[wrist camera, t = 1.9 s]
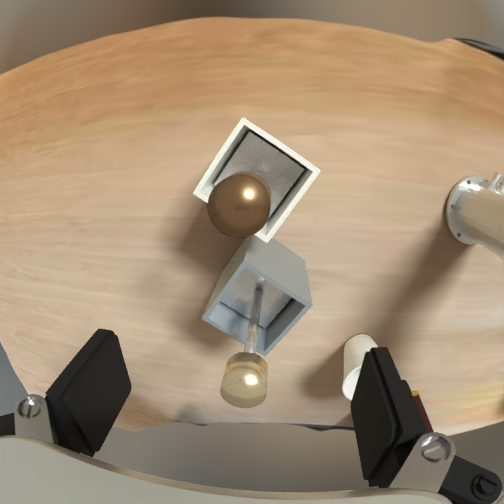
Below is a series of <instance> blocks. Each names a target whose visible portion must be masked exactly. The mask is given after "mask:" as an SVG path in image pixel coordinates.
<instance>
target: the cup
mask: <svg viewBox="0 0 504 504" xmlns="http://www.w3.org/2000/svg"><path fill="white" fill-rule="evenodd" d="M372 347H378V346H377V344H376V343H375V342H374V340H373V339H372V338H371V337H370V336H368V335H363V334H361V335H356V336H354V337H352V338H350V339H349V340H348V341H347V342H346V344H345V346H344V378H343V384H342V391H343V394H344V395H345V397H346V398H348V399H349V400H352V397H353V394H354V391H355V387H356V384H357V381H358V377H359V374H360V370H361V367H362V363H363V359H364V355H365V353H366V352H367V351H370V349H371V348H372Z"/></svg>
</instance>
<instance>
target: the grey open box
mask: <svg viewBox="0 0 504 504" xmlns="http://www.w3.org/2000/svg"><path fill="white" fill-rule="evenodd" d="M245 267H246V268H248V269H250V270H251V271H253V272H254V273H256V274H257V275H259V276H260V277H262V278H263V279H265V280H266V281H268V282H269V283H271V284H272V285H274V286H276V287H277V288H279V289H280V290H282V291H283V292H285V293H286V294H288V295H289V296H291V297H292V298H291V299H290V301H289V302H288V303H287V304H286V305H285V306H284V308H283V309H282V310H281V311H280V312H279V313H278V315H277V316H276V317H275V318H274V319H273V320H272V321H271V323H270V324H269V325H268V326H267V327H266V328H263V327H262V326H260V325H259V328H258V336H257V344H256V352H258V353H260V354H262V355H263V356H266V355H267V354H268V353H269V352H270V351H271V350H272V349H273V348H274V347H275V346H276V345H277V343H278V342H279V341H280V340H281V339H282V338H283V337H284V336H285V335H286V334H287V333H288V332H289V331H290V329H291V328H292V327H293V326H294V325H295V324H296V323H297V322H298V321H299V320H300V318H301V317H302V316H303V315H304V314H305V313H306V312H307V311H308V309H309V308H310V307H311V306H312V299H311V294H310V288H309V283H308V277H307V272H306V266H305V261H304V260H303V259H302V258H300V257H299V256H297V255H296V254H295V253H293V252H292V251H290V250H289V249H287V248H286V247H284V246H283V245H281V244H280V243H279V242H277V241H276V240H274V239H273V238H271V239H270V240H269V242H268V243H266V242H264V241H263V240H261V239H260V238H259V237H257V236H256V235H252V236H249V237H246V239H245V240H244V241H243V243H242V244H241V246H240V247H239V248H238V250H237V251H236V253H235V254H234V256H233V257H232V258H231V260H230V261H229V263H228V264H227V265H226V267H225V268H224V270H223V271H222V273H221V275H220V277H219V279H218V282H217V284H216V286H215V289H214V291H213V293H212V295H211V298H210V300H209V302H208V305H207V307H206V309H205V312H204V314H203V316H202V319H203V320H204V321H206V322H208V323H209V324H211V325H213V326H214V327H216V328H217V329H219V330H221V331H222V332H224V333H226V334H227V335H229V336H231V337H232V338H234V339H236V340H237V341H239V342H241V343H243V344H244V345H245V341H246V335H247V330H248V324H249V318H247V317H245V316H244V315H242V314H240V313H239V312H237V311H236V310H234V309H232V308H231V307H229V306H228V305H226V304H224V303H223V302H221V299H222V298H223V297H224V295H225V294H226V293H227V291H228V290H229V289H230V287H231V286H232V284H233V283H234V282H235V280H236V279H237V278H238V276H239V275H240V274H241V272H242V271H243V270H244V268H245Z"/></svg>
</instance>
